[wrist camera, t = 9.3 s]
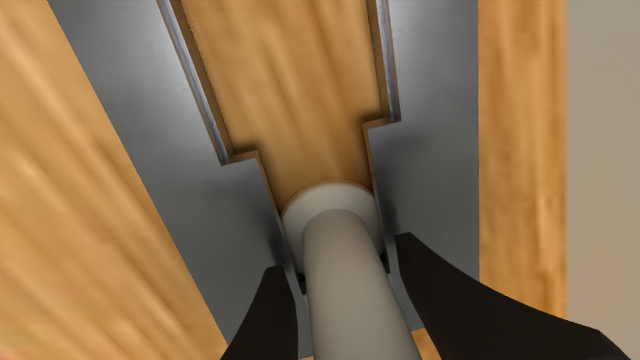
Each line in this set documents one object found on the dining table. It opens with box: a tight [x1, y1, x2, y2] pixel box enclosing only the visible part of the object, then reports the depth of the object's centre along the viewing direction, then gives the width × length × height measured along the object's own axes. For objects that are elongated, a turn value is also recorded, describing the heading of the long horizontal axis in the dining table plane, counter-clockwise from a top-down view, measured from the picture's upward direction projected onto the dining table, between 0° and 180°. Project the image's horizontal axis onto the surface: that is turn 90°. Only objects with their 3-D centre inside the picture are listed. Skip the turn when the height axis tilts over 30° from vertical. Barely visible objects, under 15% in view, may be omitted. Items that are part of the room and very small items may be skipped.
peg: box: [280, 179, 422, 360], centre depth 12 cm, size 5×5×8 cm
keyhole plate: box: [47, 0, 479, 359], centre depth 13 cm, size 20×12×2 cm, turn 13°
